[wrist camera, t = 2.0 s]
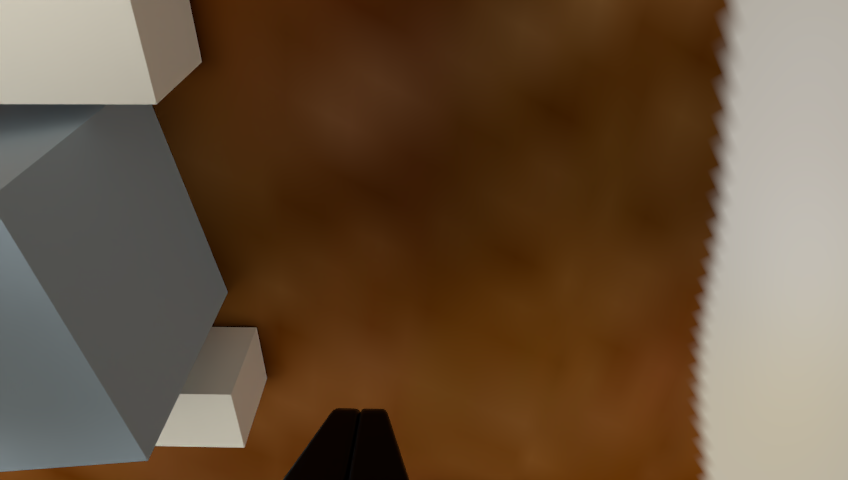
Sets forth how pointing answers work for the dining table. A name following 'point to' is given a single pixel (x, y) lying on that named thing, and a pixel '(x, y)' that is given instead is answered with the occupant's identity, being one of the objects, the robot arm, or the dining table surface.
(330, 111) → the dining table surface
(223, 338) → the chute
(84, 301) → the block
